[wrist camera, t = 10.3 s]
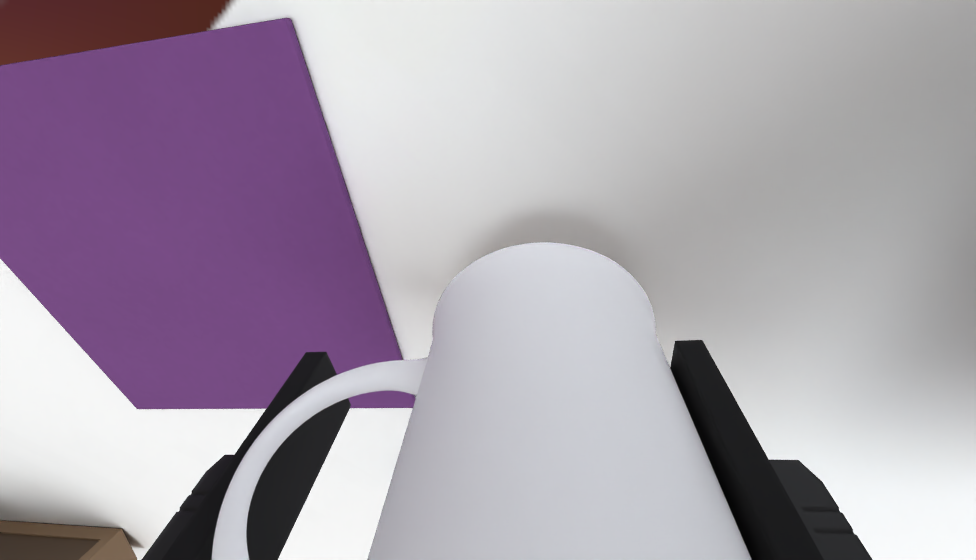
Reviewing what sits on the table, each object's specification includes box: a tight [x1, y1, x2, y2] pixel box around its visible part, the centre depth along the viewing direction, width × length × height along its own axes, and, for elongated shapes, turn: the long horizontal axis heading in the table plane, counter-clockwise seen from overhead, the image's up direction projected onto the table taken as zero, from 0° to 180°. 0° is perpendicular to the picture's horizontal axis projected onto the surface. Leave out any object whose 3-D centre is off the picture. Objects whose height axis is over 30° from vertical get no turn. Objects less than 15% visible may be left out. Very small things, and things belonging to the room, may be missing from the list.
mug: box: [212, 242, 752, 560], centre depth 10 cm, size 12×8×12 cm
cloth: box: [0, 18, 416, 409], centre depth 20 cm, size 20×20×1 cm
